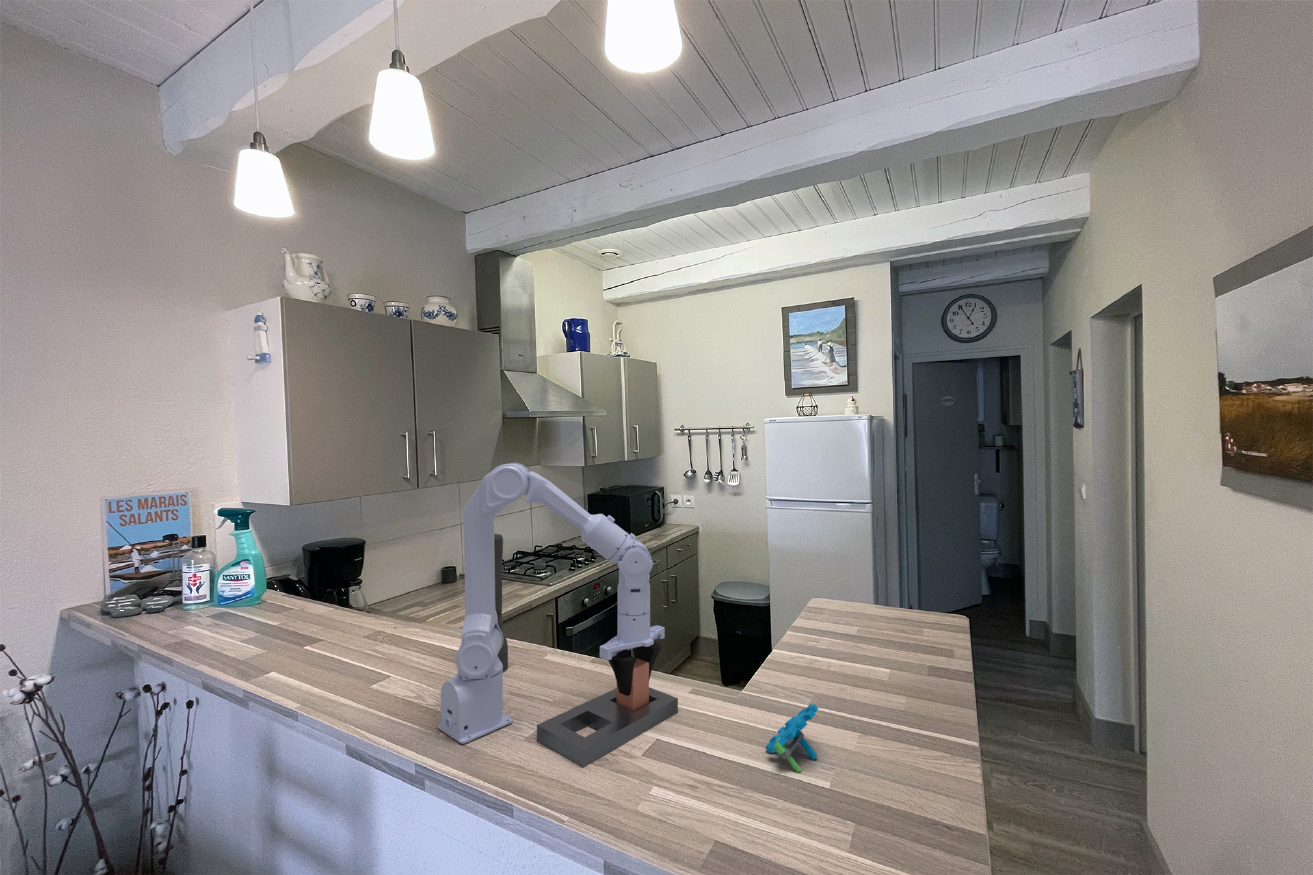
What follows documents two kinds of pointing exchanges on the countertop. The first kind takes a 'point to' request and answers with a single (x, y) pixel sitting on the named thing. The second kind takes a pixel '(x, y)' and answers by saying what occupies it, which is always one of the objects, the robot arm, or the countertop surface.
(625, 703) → the square block
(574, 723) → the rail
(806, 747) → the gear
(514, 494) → the robot arm
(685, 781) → the countertop surface
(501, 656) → the flashlight
